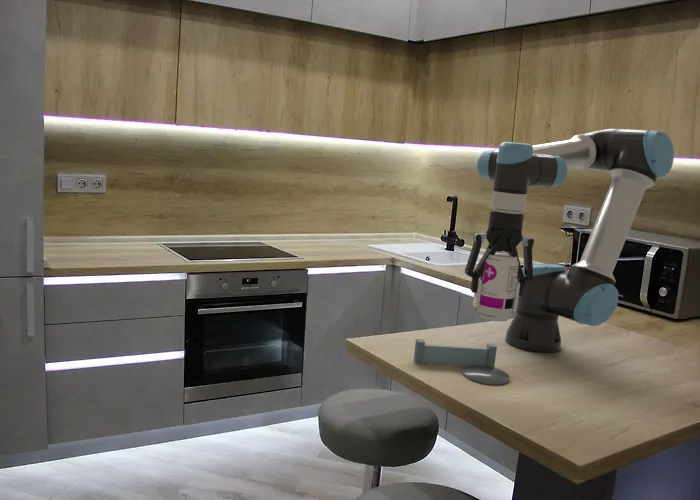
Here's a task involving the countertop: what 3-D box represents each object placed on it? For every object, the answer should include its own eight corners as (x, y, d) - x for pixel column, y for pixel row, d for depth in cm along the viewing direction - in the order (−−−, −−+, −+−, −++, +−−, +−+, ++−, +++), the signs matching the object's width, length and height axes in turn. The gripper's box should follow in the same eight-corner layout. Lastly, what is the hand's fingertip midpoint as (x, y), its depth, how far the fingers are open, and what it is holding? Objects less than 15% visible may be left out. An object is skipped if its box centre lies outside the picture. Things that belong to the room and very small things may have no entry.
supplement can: (485, 322, 145) (494, 257, 143) (469, 311, 153) (477, 250, 151) (517, 322, 148) (526, 258, 145) (500, 312, 155) (508, 251, 153)
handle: (491, 364, 161) (494, 343, 160) (494, 368, 159) (496, 346, 158) (413, 360, 159) (416, 338, 159) (415, 363, 157) (417, 342, 156)
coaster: (500, 369, 159) (501, 366, 159) (515, 386, 148) (515, 383, 148) (457, 366, 158) (457, 364, 158) (468, 383, 147) (469, 381, 147)
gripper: (545, 212, 151) (532, 306, 155) (458, 205, 149) (446, 300, 153) (558, 217, 144) (543, 315, 147) (466, 209, 142) (454, 308, 145)
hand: (494, 307), depth 150 cm, fingers closed on supplement can, 8 cm apart
